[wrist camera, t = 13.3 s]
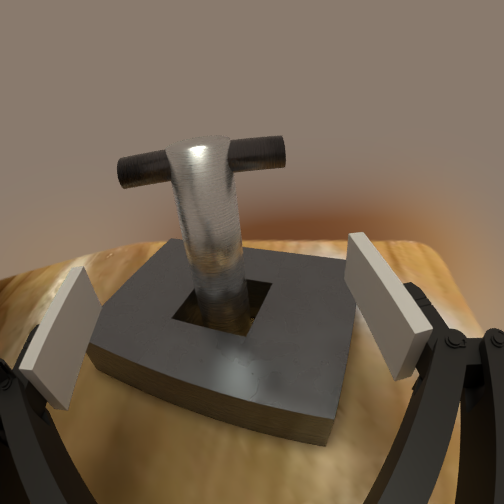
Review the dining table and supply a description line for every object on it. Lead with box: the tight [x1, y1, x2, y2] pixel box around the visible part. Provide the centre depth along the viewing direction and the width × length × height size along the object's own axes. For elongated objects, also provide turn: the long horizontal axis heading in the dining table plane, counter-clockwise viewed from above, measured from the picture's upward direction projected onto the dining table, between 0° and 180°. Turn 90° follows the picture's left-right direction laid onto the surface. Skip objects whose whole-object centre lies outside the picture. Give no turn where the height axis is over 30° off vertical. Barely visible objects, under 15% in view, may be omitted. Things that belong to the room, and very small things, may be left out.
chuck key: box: [117, 136, 286, 337], centre depth 19 cm, size 9×4×15 cm, turn 95°
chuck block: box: [86, 239, 356, 446], centre depth 23 cm, size 18×14×4 cm
